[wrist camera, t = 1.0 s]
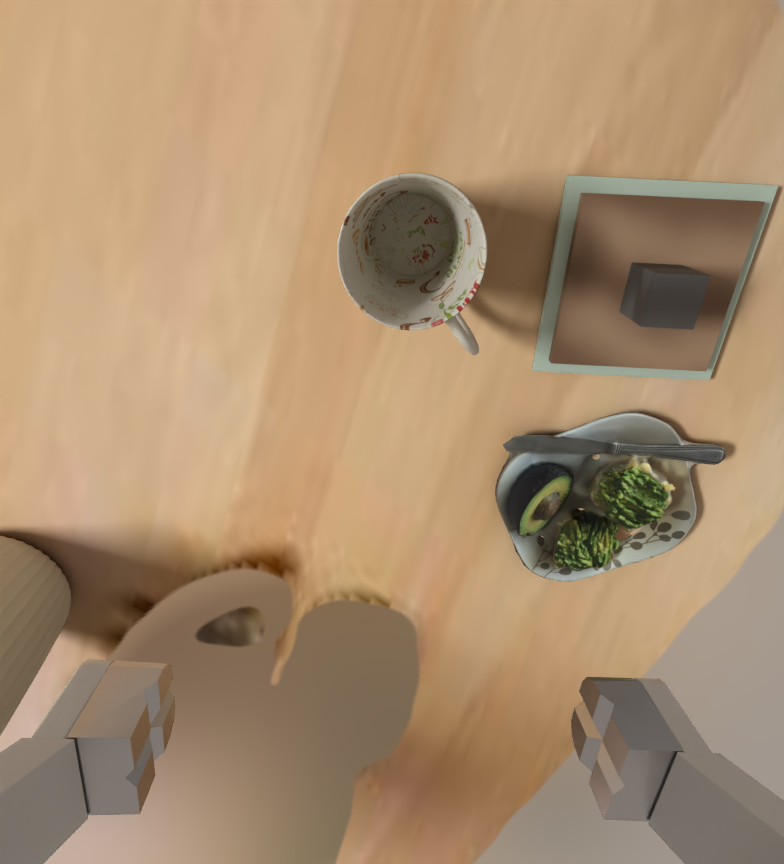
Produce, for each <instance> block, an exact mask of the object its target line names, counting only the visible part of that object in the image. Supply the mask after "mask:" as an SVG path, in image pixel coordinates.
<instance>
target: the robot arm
mask: <svg viewBox="0 0 784 864" xmlns="http://www.w3.org/2000/svg"><path fill="white" fill-rule="evenodd" d="M172 680H173V674H172V665H170V664H166V663H148V662H132V661H107V660H90V659H88V660H86V661H85V662H84V663H83V664H81V665H80V666H79V667H78V669H77V670H76V672H75V673H74V675H73V676H72V678H71V679H70V681H69V682H68V684H67V685H66V687H65V688H64V690H63V691H62V693H61V694H60V696H59V697H58V699H57V700H56V702H55V703H54V705H53V706H52V708H51V709H50V711H49V712H48V714H47V715H46V717H45V718H44V720H43V721H42V723H41V724H40V726H39V727H38V729H37V730H36V732H35V733H34V735H33V736H32V738H21V739H20V740H18V741H17V742H15V743H14V744H13V745H11V746H10V747H8V748H7V749H5V750H4V751H2V752H1V753H0V864H43V863H45V861H47V860H48V858H49V857H50V856H51V855H52V854H53V853H54V852H55V851H56V850H57V849H58V848H59V847H60V846H61V845H62V844H63V843H64V842H65V841H66V840H67V839H68V838H69V837H70V836H71V835H72V834H73V833H74V832H75V831H76V830H77V829H78V828H79V827H80V826H81V825H82V824H83V823H84V822H85V821H86V820H87V819H88V815H120V814H140V812H141V810H142V807H143V805H144V802H145V800H146V797H147V795H148V792H149V790H150V787H151V784H152V782H153V780H154V777H155V770H154V760H155V759H157V758H158V757H159V756H160V755H161V754H162V753H164V751H165V749H166V746H167V743H168V741H169V738H170V735H171V730H172V726H173V722H174V715H175V696H174V695H173V694H172V693H171V692H170V691H169V687H170V685H171V683H172ZM579 692H580V694H581V696H582V698H583V701H582V702H581V703H579V704H578V705H577V706H576V707H575V708H574V711H573V715H572V719H571V728H572V738H573V743H574V747H575V750H576V752H577V755H578V757H579V760H580V761H581V762H582V763H583V764H584V765H585V766H586V767H587V768H589V769H590V770H591V771H592V774H591V777H590V781H589V784H590V787H591V789H592V792H593V794H594V797H595V799H596V802H597V804H598V806H599V809H600V811H601V813H602V816H603V818H604V820H627V821H649V823H648V824H649V826H650V827H651V828H652V829H653V830H654V831H655V832H656V833H657V834H658V835H659V836H660V838H661V839H662V840H663V841H664V842H665V843H666V844H667V845H668V846H669V847H670V848H671V849H672V851H673V852H674V853H675V854H676V855H677V856H678V857H679V858H680V859H681V860H682V861H683V862H684V864H784V800H782V799H781V798H780V797H778V796H777V795H775V794H774V793H773V792H771V791H770V790H769V789H767V788H766V787H765V786H763V785H762V784H760V783H759V782H758V781H756V780H755V779H753V778H752V777H751V776H750V775H748V774H747V773H746V772H744V771H743V770H741V769H740V768H739V767H738V766H736V765H734V764H733V763H732V762H731V761H729V760H728V759H727V758H725V757H724V756H723V755H721V754H719V753H712V752H711V751H710V749H709V748H708V746H707V745H706V743H705V742H704V740H703V739H702V737H701V736H700V734H699V733H698V731H697V730H696V728H695V727H694V725H693V724H692V722H691V721H690V720H689V718H688V716H687V715H686V713H685V712H684V710H683V709H682V708H681V706H680V705H679V703H678V702H677V700H676V699H675V697H674V696H673V694H672V693H671V691H670V690H669V688H668V687H667V685H666V684H665V683H664V682H663V681H661V680H660V679H645V678H634V679H633V678H607V677H586V678H585V679H584V680H583V681H582V684H581V687H580V690H579Z"/></svg>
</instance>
